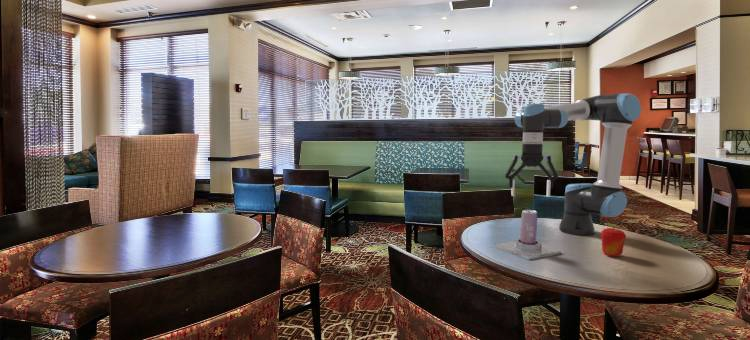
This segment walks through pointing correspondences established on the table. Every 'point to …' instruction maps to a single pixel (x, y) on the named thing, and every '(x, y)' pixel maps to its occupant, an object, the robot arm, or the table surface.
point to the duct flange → (528, 249)
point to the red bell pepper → (613, 241)
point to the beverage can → (528, 227)
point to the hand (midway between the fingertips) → (530, 196)
